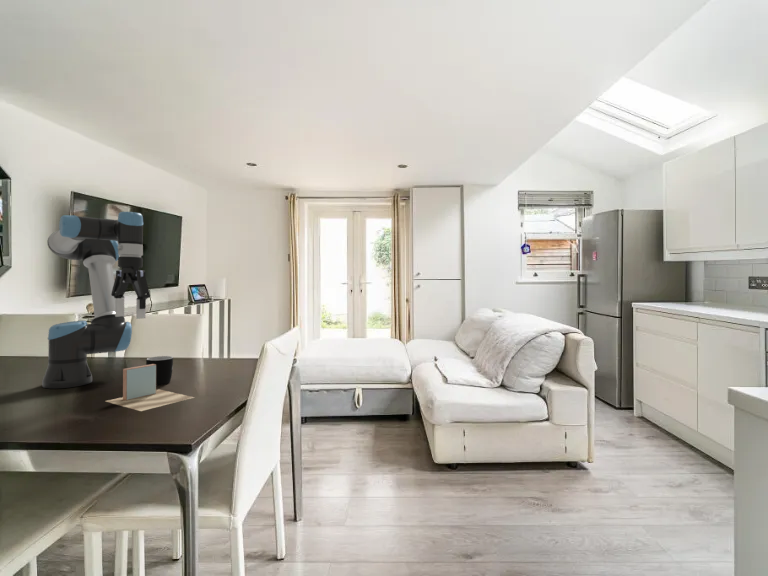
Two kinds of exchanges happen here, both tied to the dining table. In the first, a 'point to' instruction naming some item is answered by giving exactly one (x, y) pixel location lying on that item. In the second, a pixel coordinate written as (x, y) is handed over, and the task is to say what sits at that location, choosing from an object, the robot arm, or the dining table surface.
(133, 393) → the tile
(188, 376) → the dining table surface
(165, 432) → the dining table surface
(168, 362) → the mug
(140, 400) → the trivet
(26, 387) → the dining table surface
